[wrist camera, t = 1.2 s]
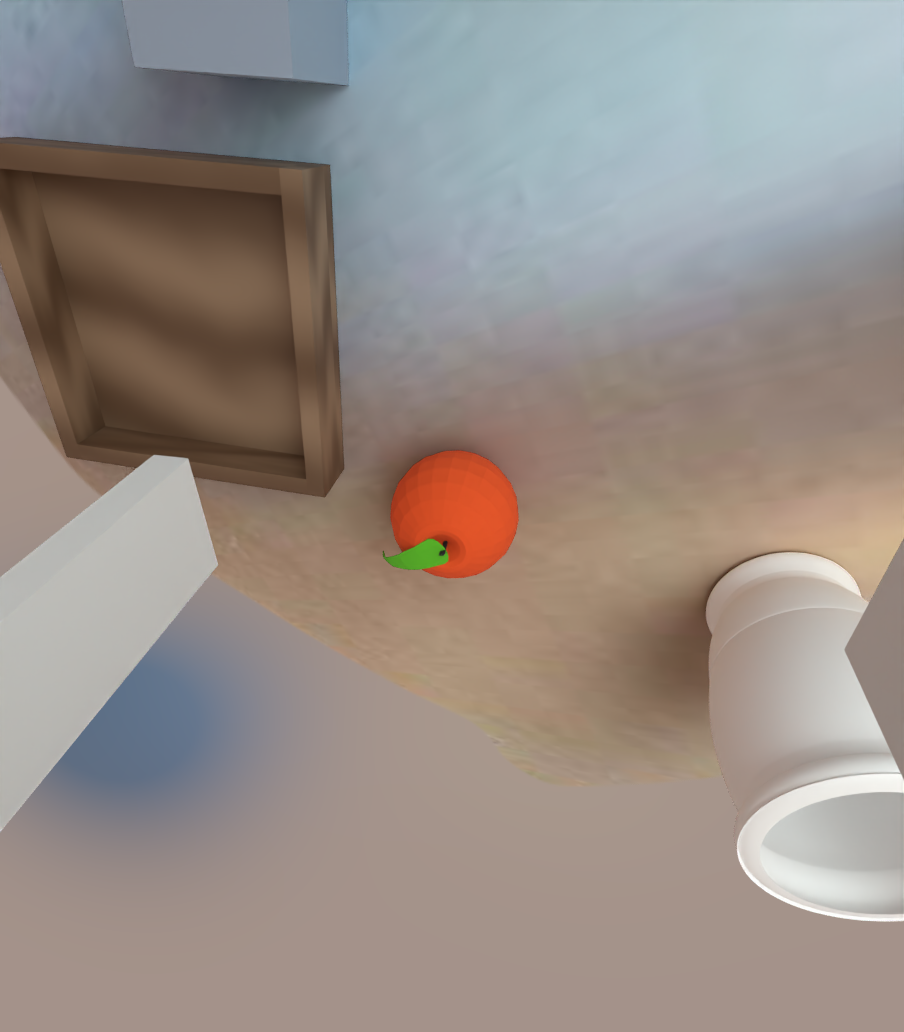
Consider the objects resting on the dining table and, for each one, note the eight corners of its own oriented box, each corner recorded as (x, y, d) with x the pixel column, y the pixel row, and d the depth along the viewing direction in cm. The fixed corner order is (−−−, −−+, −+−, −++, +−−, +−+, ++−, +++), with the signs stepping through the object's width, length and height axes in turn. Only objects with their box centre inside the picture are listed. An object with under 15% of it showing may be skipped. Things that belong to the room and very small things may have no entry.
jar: (871, 663, 37) (1013, 933, 25) (693, 672, 40) (741, 916, 28) (886, 522, 32) (1073, 775, 20) (680, 545, 35) (730, 776, 23)
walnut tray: (16, 137, 29) (-42, 139, 27) (330, 164, 27) (301, 169, 25) (103, 432, 38) (66, 456, 36) (344, 469, 36) (324, 497, 34)
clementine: (432, 550, 39) (404, 627, 33) (371, 464, 36) (330, 532, 30) (544, 507, 35) (536, 584, 29) (487, 408, 33) (465, 472, 27)
